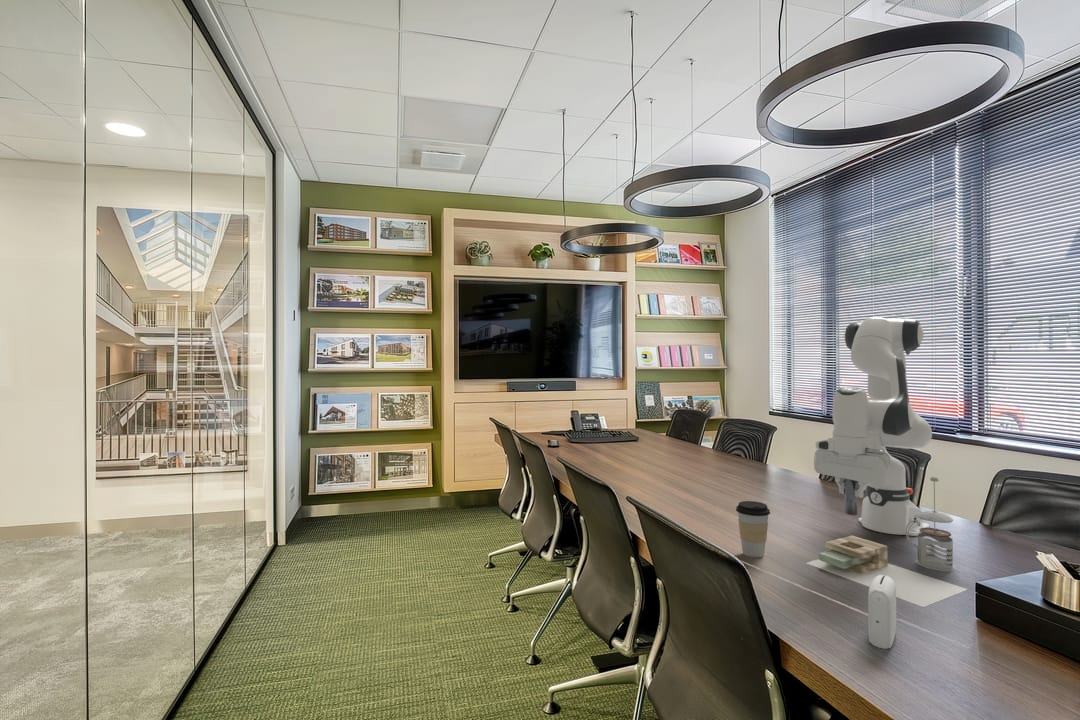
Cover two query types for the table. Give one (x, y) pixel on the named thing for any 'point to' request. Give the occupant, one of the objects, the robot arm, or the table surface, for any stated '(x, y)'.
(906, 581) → the mat
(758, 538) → the coffee cup
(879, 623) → the white rounded slab
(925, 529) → the french press
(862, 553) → the clevis
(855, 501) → the pin
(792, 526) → the table surface
